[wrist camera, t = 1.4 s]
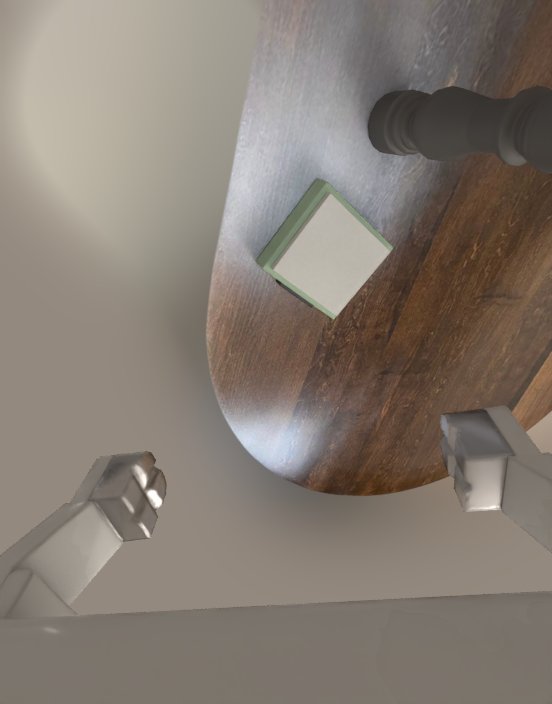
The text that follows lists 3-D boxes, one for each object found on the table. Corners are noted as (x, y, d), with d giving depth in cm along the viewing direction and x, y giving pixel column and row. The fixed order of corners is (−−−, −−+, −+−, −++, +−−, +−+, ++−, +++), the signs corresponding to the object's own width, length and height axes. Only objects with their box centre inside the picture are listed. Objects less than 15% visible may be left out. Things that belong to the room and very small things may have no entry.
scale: (253, 264, 48) (262, 275, 44) (316, 178, 45) (330, 183, 41) (322, 313, 55) (334, 325, 51) (381, 241, 52) (397, 250, 48)
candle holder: (376, 163, 46) (565, 201, 26) (361, 108, 42) (568, 102, 22) (420, 137, 46) (644, 154, 26) (409, 80, 42) (661, 47, 22)
